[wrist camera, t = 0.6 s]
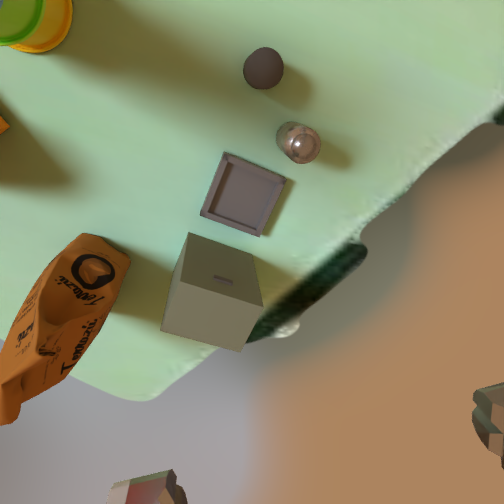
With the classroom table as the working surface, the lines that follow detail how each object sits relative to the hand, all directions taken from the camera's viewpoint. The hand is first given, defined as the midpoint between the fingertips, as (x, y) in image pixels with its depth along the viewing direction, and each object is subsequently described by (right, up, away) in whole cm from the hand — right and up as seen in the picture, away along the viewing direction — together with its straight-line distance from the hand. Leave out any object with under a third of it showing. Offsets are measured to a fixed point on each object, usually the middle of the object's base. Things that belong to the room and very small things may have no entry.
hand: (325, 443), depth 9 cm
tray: (-3, +13, +39) cm, 41 cm away
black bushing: (-1, +27, +33) cm, 42 cm away
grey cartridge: (+3, +20, +36) cm, 42 cm away
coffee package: (-26, +2, +42) cm, 49 cm away
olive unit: (-8, +3, +43) cm, 44 cm away
